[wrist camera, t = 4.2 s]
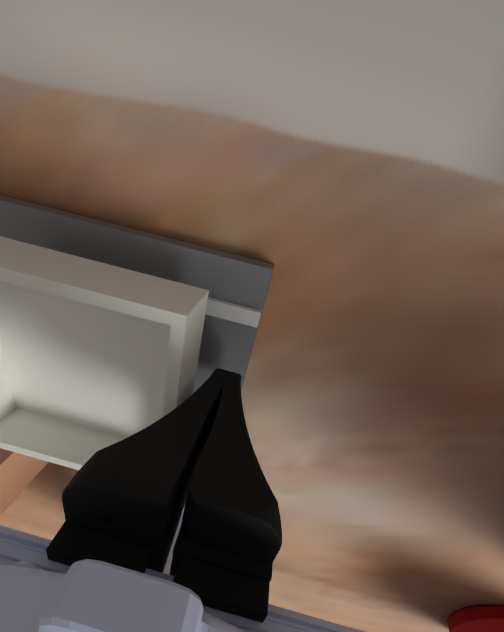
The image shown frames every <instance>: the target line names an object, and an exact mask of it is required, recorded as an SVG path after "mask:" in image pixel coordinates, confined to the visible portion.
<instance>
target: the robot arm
mask: <svg viewBox="0 0 504 632" xmlns="http://www.w3.org/2000/svg"><path fill="white" fill-rule="evenodd" d="M241 377H242V376H241V375H240V374H238V373H235V372H231V371H227V370H224V369H220V368H217V369H215V371H214V372H213V373H212V374H211V376H210V377H209V378H208V379H207V380H206V381H205V382H204V383H203V384H202V385H201V386H200V387H199V388H198V389H197V390H196V391H195V392H194V393H193V394H192V395H191V396H190V397H188V398H187V399H186V400H185V401H184V402H183V403H181V404H180V405H179V406H178V407H176V408H175V409H174V410H172V411H171V412H169V413H168V414H167V415H165V416H164V417H162V418H161V419H159V420H158V421H156V422H154V423H153V424H151V425H150V426H148V427H146V428H144V429H142V430H141V431H139V432H137V433H135V434H133V435H131V436H129V437H127V438H125V439H123V440H121V441H119V442H117V443H114V444H112V445H110V446H108V447H105V448H103V449H101V450H98V451H97V452H96V453H95V454H94V455H93V456H92V457H91V458H90V459H89V460H88V461H87V462H86V463H85V464H84V465H83V466H82V467H81V468H80V470H79V471H78V472H77V473H76V475H75V476H74V477H73V479H72V480H71V481H70V483H69V484H68V485H67V487H66V488H65V490H64V491H63V493H62V502H63V508H64V513H65V519H66V521H65V523H64V524H63V525H62V527H61V528H60V530H59V531H58V533H57V534H56V536H55V537H54V539H53V540H49V539H45V538H42V537H39V536H35V535H32V534H28V533H25V532H21V531H18V530H15V529H11V528H8V527H4V526H1V525H0V632H362V631H359V630H356V629H352V628H349V627H345V626H342V625H339V624H335V623H332V622H328V621H325V620H322V619H318V618H315V617H311V616H308V615H304V614H301V613H298V612H294V611H291V610H287V609H284V608H281V607H277V606H274V605H270V604H268V598H269V581H271V577H272V563H273V561H274V559H275V557H276V555H277V554H278V552H279V550H280V548H281V544H282V529H281V520H280V513H279V508H278V502H277V500H276V498H275V496H274V494H273V493H272V491H271V489H270V487H269V485H268V483H267V481H266V479H265V477H264V474H263V472H262V470H261V468H260V465H259V463H258V460H257V458H256V455H255V453H254V450H253V447H252V444H251V441H250V438H249V434H248V431H247V427H246V423H245V418H244V413H243V406H242V399H241Z"/></svg>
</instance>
